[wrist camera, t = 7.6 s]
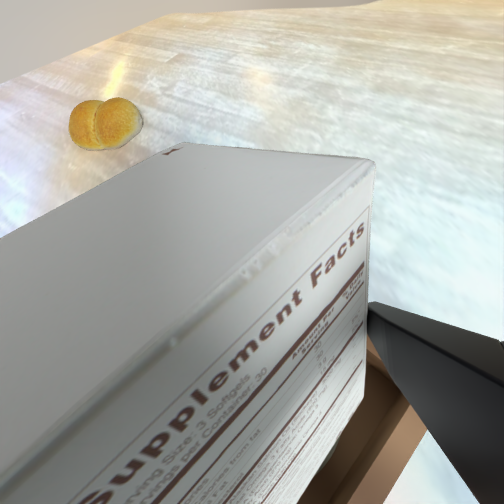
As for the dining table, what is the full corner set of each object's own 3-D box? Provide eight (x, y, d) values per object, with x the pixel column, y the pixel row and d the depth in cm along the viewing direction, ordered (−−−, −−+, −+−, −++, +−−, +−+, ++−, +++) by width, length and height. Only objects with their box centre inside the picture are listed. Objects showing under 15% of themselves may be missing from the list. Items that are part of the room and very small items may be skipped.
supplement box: (180, 409, 15) (-41, 252, 7) (267, 320, 17) (186, 133, 9) (269, 559, 10) (-220, 661, 2) (371, 399, 12) (386, 141, 4)
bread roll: (136, 150, 31) (116, 120, 27) (73, 157, 32) (46, 129, 29) (152, 109, 35) (136, 78, 31) (96, 117, 36) (74, 88, 33)
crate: (276, 622, 11) (270, 690, 9) (134, 394, 17) (105, 395, 15) (423, 389, 15) (450, 390, 12) (262, 262, 20) (257, 244, 18)
